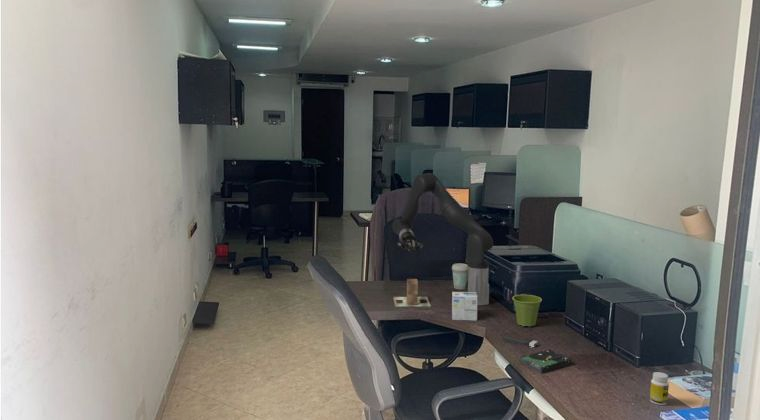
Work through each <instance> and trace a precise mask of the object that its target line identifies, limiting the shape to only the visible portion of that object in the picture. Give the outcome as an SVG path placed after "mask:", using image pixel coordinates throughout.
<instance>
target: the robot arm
mask: <svg viewBox="0 0 760 420" xmlns="http://www.w3.org/2000/svg"><path fill="white" fill-rule="evenodd" d="M429 192H430V193H432V194H433V196H435V197H436V199H437V202H438V205H439V210H440V213H441V214H442V215H443V216H444V218H445V219H446V221H448V222H449V223H450V224H451V225H453V226H455V227H456V228H458V229H460V230H461V231H464V232H465V233H466V234H467V235H469V236H467V239H466V259H467V263H468V264H467V265H468V274H467V292H476V293H477V306H485V305H489V301H490V284H489V269H490V268H489V267H490V263H489V260H487V259H485V257H484V255H485V253H484V252H488V251H490V250H491V249H492V248H493V247H494V240H493V237H492V235H491V234H490V233H489V232H488V231H487V230H486V229H485V228H484V227H482V226H481V225H480V224H479V223H477V221H476V220H475V219H474V218H473V217H472V216H471V215H470V214H469V213H468V211H466V210H465V208H463V206H462V205H461V204H460V203H459V202H458V201H457V200H456V199H455V198H454V197H453V196H452V194H451V193H450V192H449V191H448V190H447V189H446V187H445V186H444V185H443V183H442V182H441V181H440V180H439V179H438V177H437V176H436V175H435V174H434V173H431V172H428V173H422V174H418V175H416V176H415V178H414V179H413V182H412V185H411V189H410V192H409V196H408V200H407V202H406V204H405V205H404V208H403V210H402V212H401V215H400V217H401V219H400V218H397V219H395V220H394V221H393V223H392V230H393V232H394V233H395V234H396V235H397V236H398V237H399V240H398V241H397V247H398V248H401V249H403V250H404V251H405V250H406V251H407V250H408V252H410V253H411V254H415V253H416V252H418V251H420V250H422V249H423V246H424V243H422V242H420V243H419V241H417V238H416V236H415V234H414V232H413V225H414V220H415V219H416V216H417V214H418V213H419V209H420V205H419V204H420V203H419V200H420V198H421V196H422V195H424V194H425V193H429Z"/></svg>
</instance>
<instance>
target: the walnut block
mask: <svg viewBox="0 0 760 420" xmlns="http://www.w3.org/2000/svg"><path fill="white" fill-rule="evenodd" d="M418 284H419V281H418V279H417V278H406V297H407V305H417V301H418V297H419V296H418V294H419V293H418V291H419V290H418V289H419V288H418V287H419V285H418Z"/></svg>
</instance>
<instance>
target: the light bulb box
mask: <svg viewBox="0 0 760 420" xmlns="http://www.w3.org/2000/svg"><path fill="white" fill-rule="evenodd" d="M451 293H452V297H451V318H452V321H453V320H454V321H473V322H474V321H476V322H477V321H478V305H477V293H476V292H468V291H452V292H451Z"/></svg>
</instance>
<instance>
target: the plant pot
mask: <svg viewBox="0 0 760 420" xmlns="http://www.w3.org/2000/svg"><path fill="white" fill-rule="evenodd" d="M511 299H512V300H513V304H514V309H515V317H516V323H518V324H519V325H522V326H534V325H535V326H536V323H537V318H538V314H539V310H540V309H539V308H540V305H541V302H542V300H543V299H542V298H541V297H540V296H536V295H533V294H516V295H513V296H512V297H511ZM518 324H517V325H518ZM519 325H518V326H519ZM522 326H521V327H522ZM535 326H534V327H535Z"/></svg>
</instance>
